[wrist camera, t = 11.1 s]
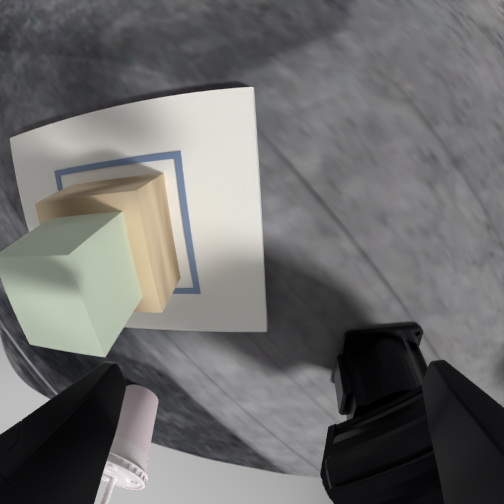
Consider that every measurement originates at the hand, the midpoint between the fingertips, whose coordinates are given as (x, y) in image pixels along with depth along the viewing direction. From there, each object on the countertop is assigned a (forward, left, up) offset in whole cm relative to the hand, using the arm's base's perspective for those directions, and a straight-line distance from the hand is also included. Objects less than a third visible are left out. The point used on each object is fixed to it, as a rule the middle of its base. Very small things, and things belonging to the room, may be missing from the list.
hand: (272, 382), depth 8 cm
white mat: (+10, 0, -13) cm, 16 cm away
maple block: (+10, 0, -12) cm, 16 cm away
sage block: (+10, 0, -8) cm, 13 cm away
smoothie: (+14, +18, -13) cm, 26 cm away
